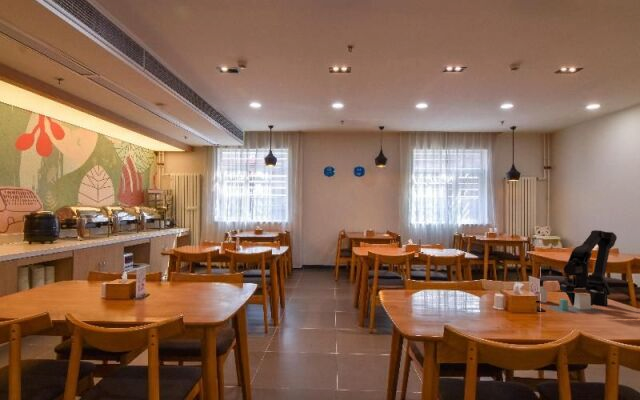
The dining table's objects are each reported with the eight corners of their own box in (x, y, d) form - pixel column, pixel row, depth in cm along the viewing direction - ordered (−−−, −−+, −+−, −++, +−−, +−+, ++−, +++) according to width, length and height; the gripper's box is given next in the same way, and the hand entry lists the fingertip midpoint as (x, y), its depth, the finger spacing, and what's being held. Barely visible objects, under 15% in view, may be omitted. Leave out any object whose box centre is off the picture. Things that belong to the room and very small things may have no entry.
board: (586, 307, 205) (586, 306, 205) (606, 314, 191) (606, 312, 191) (543, 306, 206) (543, 305, 206) (559, 313, 192) (559, 312, 192)
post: (564, 309, 198) (564, 299, 198) (568, 310, 195) (567, 300, 195) (559, 309, 198) (559, 299, 198) (562, 310, 195) (562, 300, 195)
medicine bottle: (541, 300, 221) (540, 278, 221) (547, 303, 214) (546, 280, 214) (527, 300, 221) (527, 278, 222) (532, 303, 214) (532, 280, 215)
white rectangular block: (583, 306, 204) (583, 293, 204) (590, 309, 199) (590, 295, 199) (573, 306, 204) (573, 293, 204) (580, 309, 199) (579, 295, 199)
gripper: (589, 271, 210) (590, 302, 209) (553, 271, 210) (554, 301, 210) (604, 275, 199) (605, 307, 198) (566, 275, 199) (566, 306, 199)
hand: (582, 305), depth 201 cm, fingers open, 9 cm apart
